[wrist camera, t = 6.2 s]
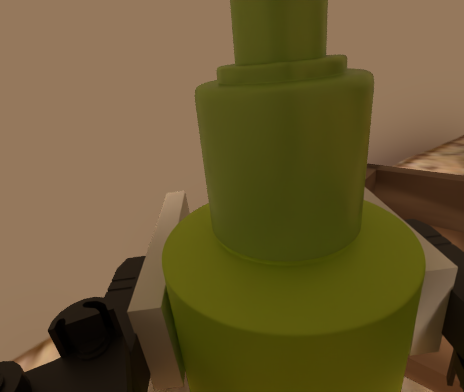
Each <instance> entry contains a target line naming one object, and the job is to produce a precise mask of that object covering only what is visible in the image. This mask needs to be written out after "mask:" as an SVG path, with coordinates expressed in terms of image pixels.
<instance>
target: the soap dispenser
mask: <svg viewBox="0 0 464 392" xmlns="http://www.w3.org/2000/svg"><path fill="white" fill-rule="evenodd" d="M230 5H231V18H232V30H233V43H234V55H235V64H232V65H225V66H221V67H218V68H217V80H215V81H210V82H207V83H204V84H201V85H199V86H198V87H197V88H196V90H195V102H196V111H197V118H198V126H199V133H200V140H201V147H202V155H203V162H204V169H205V177H206V185H207V192H208V199H209V203H208V204H206V205H204V206H202V207H200V208H198V209H197V210H195V211H193V212H192V213H190V214H189V215H188V216H186V217H185V218H184V219H183V220H181V221H180V222H179V223H178V224H177V225H176V226H175V228H174V229H173V230H172V231H171V233H170V234H169V236H168V238H167V240H166V242H165V244H164V247H163V251H162V269H163V274H164V278H165V283H166V287H167V292H168V296H169V300H170V305H171V309H172V314H173V318H174V322H175V327H176V331H177V336H178V340H179V344H180V349H181V353H182V358H183V362H184V366H185V371H186V375H187V380H188V384H189V389H190V392H401V388H402V383H403V379H404V374H405V369H406V364H407V359H408V354H409V349H410V345H411V340H412V335H413V330H414V325H415V320H416V315H417V311H418V306H419V301H420V296H421V291H422V286H423V282H424V277H425V270H426V259H425V254H424V250H423V248H422V245H421V243H420V241H419V240H418V238H417V237H416V235H415V234H414V232H413V231H412V230H411V229H410V228H409V227H408V226H407V225H406V224H405V223H404V222H403V221H402V220H400V219H399V218H398V217H396V216H395V215H393V214H392V213H390V212H389V211H387V210H385V209H383V208H381V207H380V206H377V205H375V204H373V203H371V202H368V201H366V200H364V189H365V178H366V168H367V156H368V145H369V135H370V125H371V113H372V103H373V92H374V78H373V74H372V73H371V72H369V71H367V70H361V69H347V57H346V55H326V40H327V7H328V0H230Z"/></svg>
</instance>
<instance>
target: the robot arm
mask: <svg viewBox="0 0 464 392" xmlns="http://www.w3.org/2000/svg"><path fill="white" fill-rule="evenodd" d="M364 200H366V201H368V202H371V203H373V204H375V205H377V206H380V207H381V208H383V209H385V210H387V211H389V212H390V213H392V214H393V215H395V216H396V217H398V218H399V219H400V220H402V221H403V222H404V223H405V224H406V225H407V226H408V227H409V228H410V229H411V230H412V231H413V232H414V234H415V235H416V237H417V238H418V240H419V241H420V243H421V245H422V248H423V250H424V254H425V259H426V270H425V277H424V282H423V286H422V291H421V296H420V301H419V306H418V311H417V315H416V320H415V325H414V330H413V335H412V340H411V345H410V349H409V355H410V356H411V355H419V354H426V353H433V352H439V349H440V344H441V340H442V336H444V337H445V338H446V340H447V341H448V342H449V343H450V344H451V346H452V347H453V352H452V356H451V360H450V364H449V368H448V372H447V376H446V379H447V386H453V383H454V379H455V375H457V377H458V379H459V382H460V385H459V386H460V387H461V388H462V389H463V391H464V252H463V251H462V250H461V249H459V248H458V247H457V246H456V245H454V244H452V243H451V242H450V241H449V240H448V239H447V238H445V237H444V236H443V237H442V234H440V233H439V232H438V231H436V230H435V229H434V228H433V227H431V226H430V225H428V224H425V223H423V222H421V221H418V220H416V219H406V220H403V219H402V218H400V217H399V216H398V215H397V214H396V213H395V212H393V211H392V210H391V209H390V208H389V207H388V206H386V205H385V204H384V203H383V202H382V201H381V200H380V199H378V198H377V197H376V196H375V195H374V194H373V193H371V192H370V191H369V190H368V189H367V188H366V187H365V189H364ZM189 214H190V213H189V208H188V203H187V199H186V194H185V191H179V192H172V193H167V194H166V197H165V200H164V203H163V206H162V210H161V212H160V215H159V218H158V221H157V225H156V227H155V230H154V233H153V236H152V239H151V242H150V245H149V248H148V251H147V254H146V256H141V257H134V258H128V259H126V260H125V261H124V262H123V263H122V264H121V265H120V266H119V267H118V269H117V270H116V272H115V275H114V277H113V279H112V283H111V284H110V286H109V288H108V292H107V293H106V295H105V297H104V298H102V297H92V298H87V299H83V300H81V301H78V302H76V303H74V304H72V305H70V306H69V307H67V308H66V309H64V310H63V311H61V312H60V313H59V315H58V316H57V317H56V318H55V319H54V320H53V321H52V323H51V325H50V327H49V329H48V332H49V334H50V336H51V338H52V340H53V342H54V344H55V346H56V348H57V350H58V352H59V354H60V356H61V357H60V358H58V359H56V360H54V361H52V362H49V363H47V364H44V365H42V366H39V367H37V368H34V369H32V370H29V371H27V372H24V371H23V369H22V368H21V366H20V365H19V364H17V363H15V362H14V361H3V362H0V392H147V390H148V385H149V380H150V378H151V381H152V384H153V387H154V390H161V389H168V388H176V387H183V386H184V377H185V366H184V362H183V358H182V353H181V349H180V344H179V340H178V336H177V331H176V327H175V322H174V318H173V314H172V309H171V305H170V300H169V296H168V292H167V287H166V283H165V278H164V274H163V269H162V251H163V247H164V244H165V242H166V240H167V238H168V236H169V234H170V233H171V231H172V230H173V229H174V228H175V226H176V225H177V224H178V223H179V222H180V221H181V220H183V219H184V218H185V217H186V216H188V215H189Z"/></svg>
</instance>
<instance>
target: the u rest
mask: <svg viewBox="0 0 464 392" xmlns="http://www.w3.org/2000/svg"><path fill="white" fill-rule="evenodd" d="M365 187H366V188H367V189H368V190H369V191H370V192H371V193H373V194H374V195H375V196H376V197H377V198H378V199H380V200H381V201H382V202H383V203H384V204H385V205H386V206H388V207H389V208H390V209H391V210H392V211H393V212H395V213H396V214H397V215H398V216H399V217H400V218H402V219H403V220H406V219H416V220H418V221H421V222H423V223H425V224H428V225H430V226H431V227H433V228H434V229H435V230H436V231H438V232H439V233H440V234H442V237H443V236H444V237H445V238H447V239H448V240H449V241H450V242H451V243H452V244H454V245H456V246H457V247H458V248H459V249H461V250H462V251H463V252H464V176H462V175H454V174H446V173H438V172H430V171H422V170H414V169H406V168H398V167H390V166H383V165H375V164H367V168H366V178H365ZM452 352H453V347H452V346H451V344H450V343H449V342H448V341H447V340H446V338H445V337H444V336H442V340H441V344H440V349H439V352H433V353H426V354H419V355H411V356H410V355H409V354H408V359H407V364H406V369H405V374H404V376H405V377H407V378H409V379H411V380H413V381H415V382H417V383H419V384H421V385H423V386H425V387H427V388H429V389H430V390H432V391H434V392H464V391H463V389H462V388H461V387H460V386H459V385H460V382H459V379H458V377H457V375H455V379H454V383H453V386H447V379H446V376H447V372H448V368H449V364H450V360H451V356H452Z"/></svg>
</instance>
